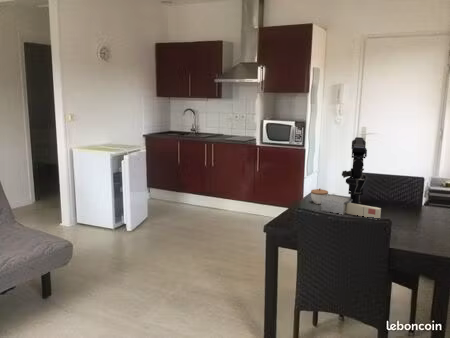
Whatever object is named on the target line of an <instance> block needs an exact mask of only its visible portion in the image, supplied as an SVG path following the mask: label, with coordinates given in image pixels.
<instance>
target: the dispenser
mask: <svg viewBox="0 0 450 338" xmlns="http://www.w3.org/2000/svg"><path fill="white" fill-rule="evenodd" d="M352 200H353V199H350V197H349V198H348V197H344V196H343V197H342V196H338V195H329V194H328V196H326V197H324V198H322V200H321V204H320V211H322V212H326V213H330V212H333V213H332V214H335V213H339V214H338V215H340V214H342V215H341V216H344V215H346V212H345V211H346V205H347V203H351V201H352Z"/></svg>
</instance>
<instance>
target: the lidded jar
mask: <svg viewBox="0 0 450 338" xmlns="http://www.w3.org/2000/svg"><path fill="white" fill-rule="evenodd" d="M326 196H329V191H328V190H326V189H321V188H317V189H316V188H314V189H311V191H310V197H311V201H313V203H314V204H317V205H321V200H322V198H324V197H326Z"/></svg>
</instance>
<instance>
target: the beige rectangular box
mask: <svg viewBox="0 0 450 338" xmlns="http://www.w3.org/2000/svg"><path fill="white" fill-rule="evenodd" d="M381 211H382V208H381V207H377V206H370V205H365V204H361V203H360V204H355V203H347V205H346V212H345V214H348V215H353V216H357V215H358V216H357V217H362V216H364V217H363V218H367V217H374V218H380V219H381V214H382V212H381Z"/></svg>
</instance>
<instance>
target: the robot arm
mask: <svg viewBox="0 0 450 338" xmlns="http://www.w3.org/2000/svg"><path fill="white" fill-rule="evenodd" d="M366 145H367V142H366V141H365V140H364V137H359V136H358V137H357V136H356V137H354V139H353V140H352V141H351V159H352V168H350V170H348V171H347V170H342V172H341V177H343V179H345V178H346V179H345V183H346V184H347V185H348V195H350V196H349V199H353V200H352V201H351V203H355V204H360V205H361V204H362V202H361V201H360V198H361V197H360V196H363V195H364V190H365V189H364V187H363V186H364V185H365V183H366V181H367V180H368V178H369V177H368V175H367V174H365V173H363V171H365V168H364V159H366V158H367V156H368V155H367V154H368V149H367V147H366Z"/></svg>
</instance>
